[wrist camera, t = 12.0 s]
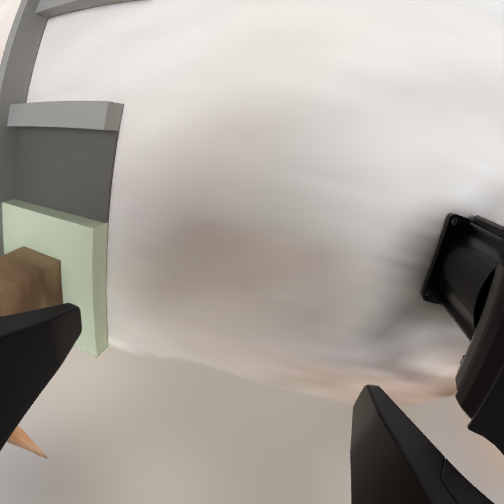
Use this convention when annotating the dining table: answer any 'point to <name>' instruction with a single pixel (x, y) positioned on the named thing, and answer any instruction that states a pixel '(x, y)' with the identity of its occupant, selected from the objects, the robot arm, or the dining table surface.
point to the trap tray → (57, 172)
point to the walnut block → (29, 281)
